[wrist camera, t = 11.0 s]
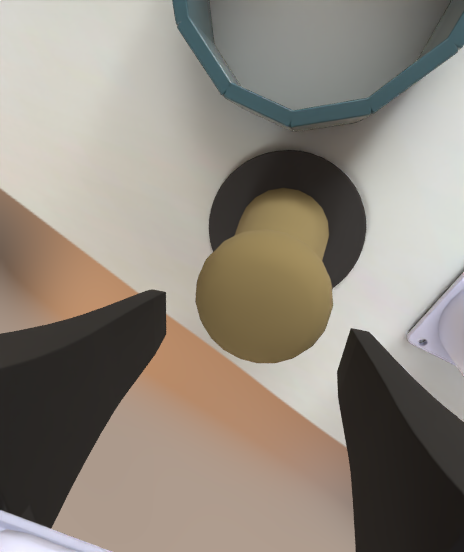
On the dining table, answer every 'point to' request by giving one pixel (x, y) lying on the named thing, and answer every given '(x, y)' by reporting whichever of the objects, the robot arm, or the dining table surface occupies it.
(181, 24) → the teal hollow ring
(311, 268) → the tan game pawn
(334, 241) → the black mat
